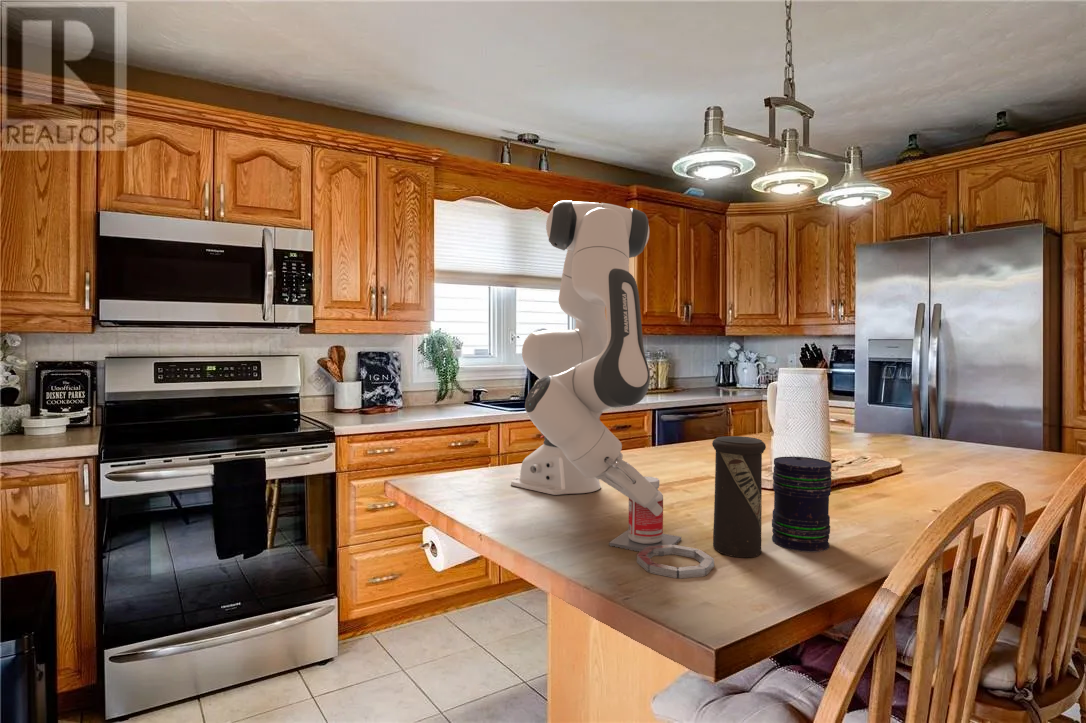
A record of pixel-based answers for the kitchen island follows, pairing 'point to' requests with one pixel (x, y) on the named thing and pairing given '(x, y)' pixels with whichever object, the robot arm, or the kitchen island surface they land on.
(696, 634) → the kitchen island surface
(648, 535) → the pill bottle
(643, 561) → the collar
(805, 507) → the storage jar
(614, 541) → the coaster
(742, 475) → the container
